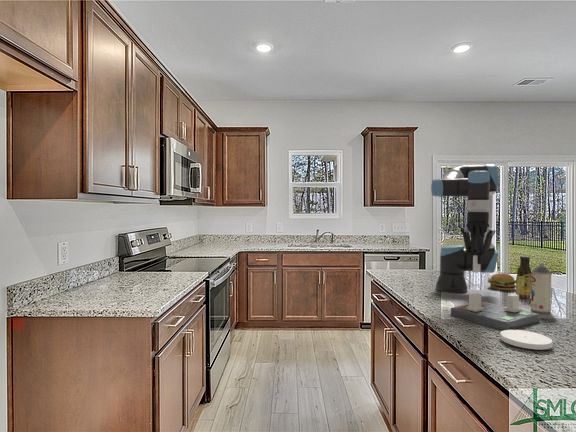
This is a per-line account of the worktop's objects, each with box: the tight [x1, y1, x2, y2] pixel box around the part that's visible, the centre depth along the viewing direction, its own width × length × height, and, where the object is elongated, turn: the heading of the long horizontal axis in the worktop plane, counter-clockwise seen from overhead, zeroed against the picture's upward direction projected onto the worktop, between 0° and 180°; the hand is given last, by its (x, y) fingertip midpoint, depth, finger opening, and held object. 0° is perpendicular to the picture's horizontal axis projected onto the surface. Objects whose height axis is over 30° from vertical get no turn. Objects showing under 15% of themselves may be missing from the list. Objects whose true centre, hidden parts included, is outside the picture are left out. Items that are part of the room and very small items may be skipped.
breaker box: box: [450, 300, 540, 331], centre depth 149 cm, size 22×22×3 cm
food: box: [487, 273, 517, 291], centre depth 207 cm, size 14×14×8 cm
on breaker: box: [504, 293, 522, 313], centre depth 148 cm, size 4×5×6 cm
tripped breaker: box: [466, 292, 484, 312], centre depth 149 cm, size 4×5×6 cm
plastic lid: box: [499, 329, 553, 351], centre depth 121 cm, size 14×14×2 cm
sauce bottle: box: [515, 255, 532, 299], centre depth 186 cm, size 6×6×20 cm
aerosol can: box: [530, 262, 552, 315], centre depth 160 cm, size 7×7×20 cm
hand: (476, 272), depth 149 cm, fingers closed
